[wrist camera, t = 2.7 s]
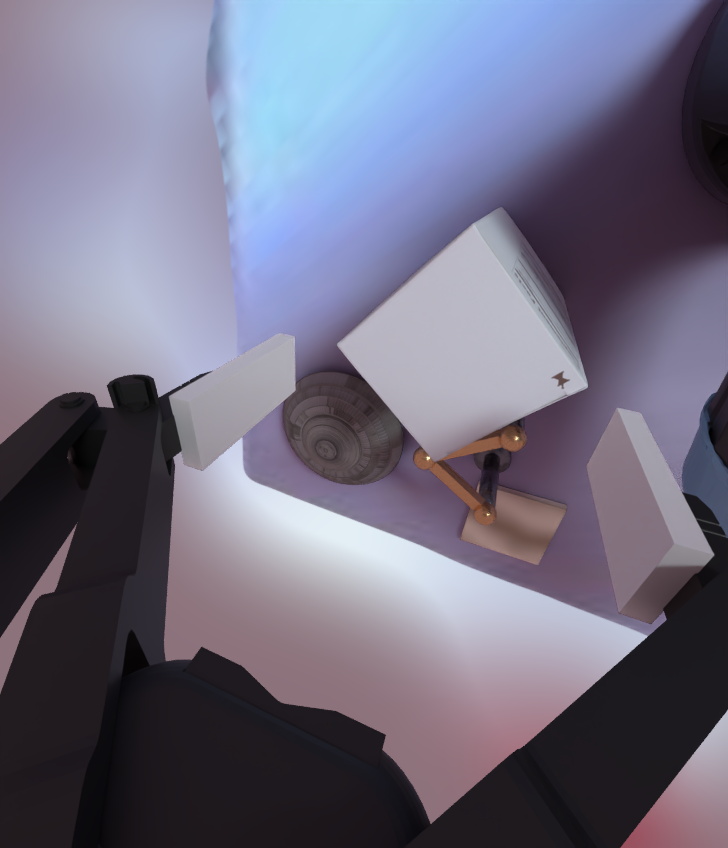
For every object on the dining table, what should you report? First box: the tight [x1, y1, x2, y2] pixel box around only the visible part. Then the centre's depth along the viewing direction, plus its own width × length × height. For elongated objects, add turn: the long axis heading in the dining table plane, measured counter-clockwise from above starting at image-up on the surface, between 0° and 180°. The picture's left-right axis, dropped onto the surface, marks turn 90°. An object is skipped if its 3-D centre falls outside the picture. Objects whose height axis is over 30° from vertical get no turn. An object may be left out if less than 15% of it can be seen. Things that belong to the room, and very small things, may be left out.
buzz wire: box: [413, 417, 527, 526], centre depth 34 cm, size 12×10×10 cm
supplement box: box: [337, 207, 588, 462], centre depth 26 cm, size 10×9×17 cm
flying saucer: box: [283, 371, 403, 485], centre depth 43 cm, size 15×15×6 cm
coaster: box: [460, 480, 567, 565], centre depth 43 cm, size 9×9×1 cm
